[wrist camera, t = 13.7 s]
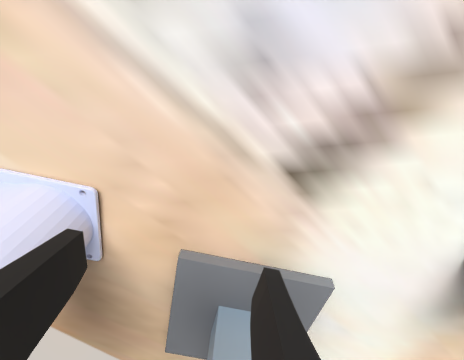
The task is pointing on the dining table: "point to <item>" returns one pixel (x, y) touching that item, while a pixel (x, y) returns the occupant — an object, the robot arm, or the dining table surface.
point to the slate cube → (230, 335)
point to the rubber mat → (228, 297)
